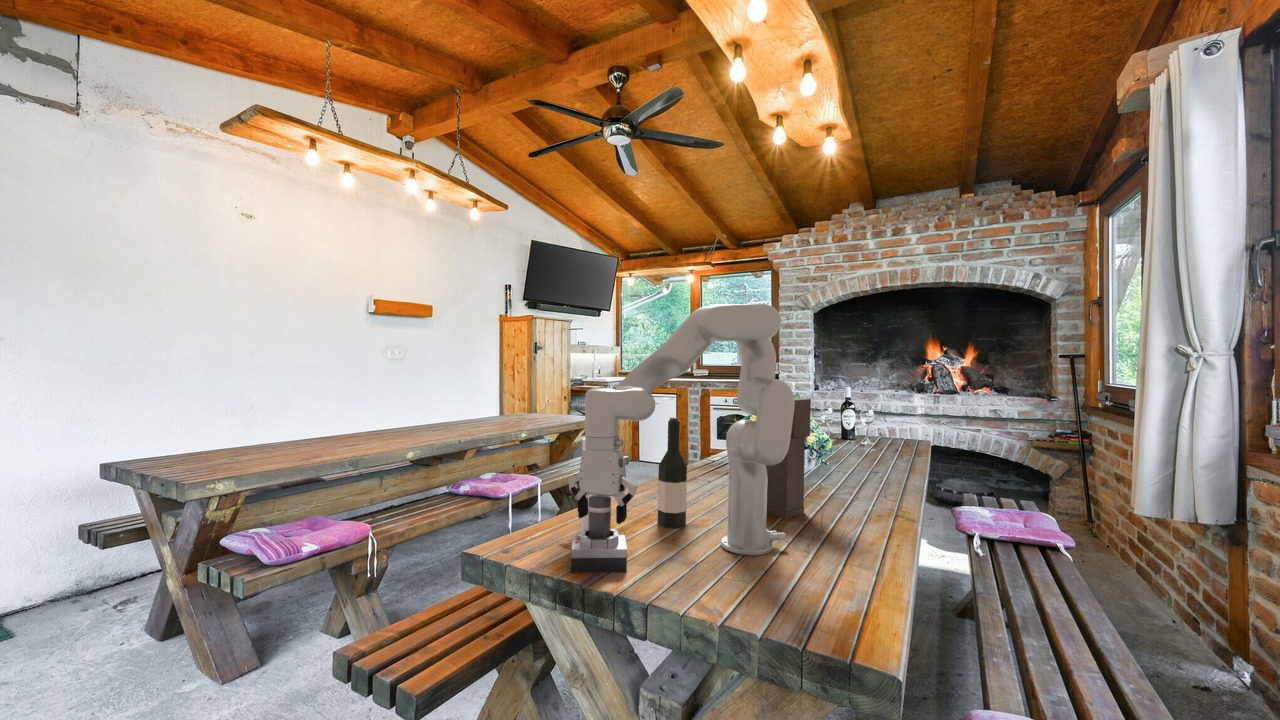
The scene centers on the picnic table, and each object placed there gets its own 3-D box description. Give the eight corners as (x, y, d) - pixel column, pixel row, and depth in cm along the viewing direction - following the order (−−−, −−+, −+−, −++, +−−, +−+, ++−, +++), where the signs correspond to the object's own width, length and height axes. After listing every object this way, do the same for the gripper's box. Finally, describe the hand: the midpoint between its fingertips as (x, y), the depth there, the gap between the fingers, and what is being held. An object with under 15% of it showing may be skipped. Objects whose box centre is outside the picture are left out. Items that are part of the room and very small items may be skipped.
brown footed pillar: (810, 510, 166) (812, 399, 166) (786, 519, 156) (789, 401, 156) (758, 498, 180) (760, 395, 180) (733, 505, 170) (735, 396, 170)
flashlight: (594, 537, 122) (595, 493, 122) (614, 540, 120) (615, 495, 120) (583, 543, 118) (584, 498, 118) (603, 547, 115) (604, 501, 115)
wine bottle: (691, 522, 151) (693, 417, 151) (677, 530, 144) (680, 420, 144) (666, 517, 155) (668, 415, 155) (651, 524, 148) (653, 417, 148)
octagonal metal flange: (624, 556, 124) (624, 526, 124) (626, 572, 115) (627, 540, 115) (572, 557, 123) (573, 527, 123) (571, 572, 114) (571, 540, 114)
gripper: (643, 443, 119) (643, 519, 119) (577, 438, 126) (577, 510, 126) (629, 449, 112) (629, 529, 112) (560, 443, 119) (560, 518, 119)
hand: (601, 519), depth 119 cm, fingers open, 9 cm apart
